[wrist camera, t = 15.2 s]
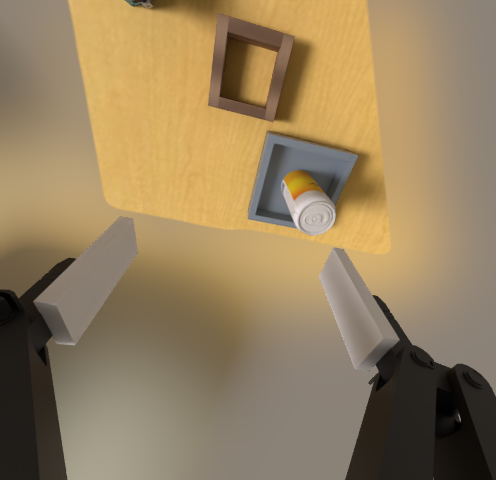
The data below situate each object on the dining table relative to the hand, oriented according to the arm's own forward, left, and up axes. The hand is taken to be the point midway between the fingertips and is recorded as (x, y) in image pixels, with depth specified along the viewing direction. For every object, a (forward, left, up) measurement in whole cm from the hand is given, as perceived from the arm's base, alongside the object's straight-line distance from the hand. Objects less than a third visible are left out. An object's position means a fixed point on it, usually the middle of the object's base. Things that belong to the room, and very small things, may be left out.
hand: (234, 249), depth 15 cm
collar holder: (-12, -1, -31) cm, 33 cm away
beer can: (+3, +12, -31) cm, 33 cm away
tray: (+3, +12, -31) cm, 34 cm away
